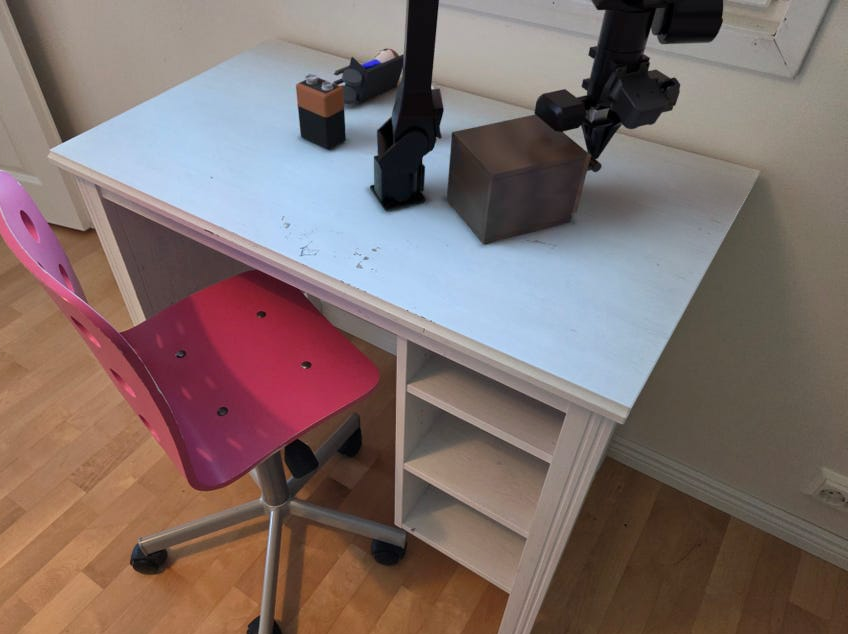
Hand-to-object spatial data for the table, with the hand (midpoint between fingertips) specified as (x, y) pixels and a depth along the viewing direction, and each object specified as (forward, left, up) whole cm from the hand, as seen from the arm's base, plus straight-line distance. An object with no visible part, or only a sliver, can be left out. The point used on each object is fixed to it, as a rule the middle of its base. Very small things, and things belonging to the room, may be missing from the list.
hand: (593, 158), depth 92 cm
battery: (-31, +30, -6) cm, 43 cm away
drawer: (-9, 0, -4) cm, 10 cm away
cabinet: (-13, 0, -5) cm, 14 cm away
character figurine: (-18, +42, -6) cm, 46 cm away
